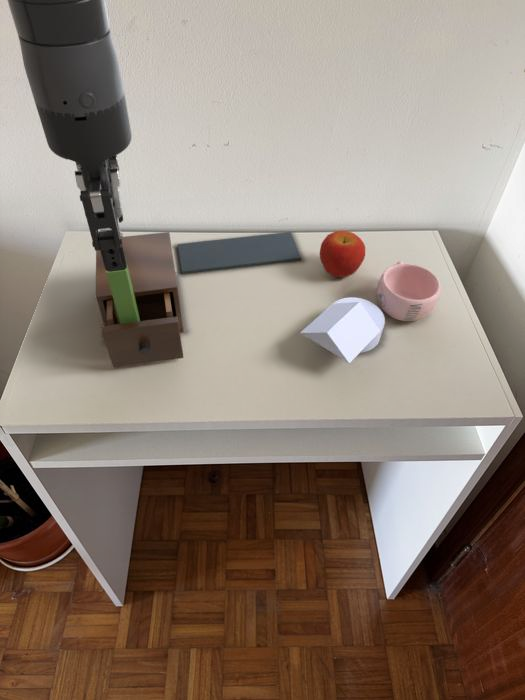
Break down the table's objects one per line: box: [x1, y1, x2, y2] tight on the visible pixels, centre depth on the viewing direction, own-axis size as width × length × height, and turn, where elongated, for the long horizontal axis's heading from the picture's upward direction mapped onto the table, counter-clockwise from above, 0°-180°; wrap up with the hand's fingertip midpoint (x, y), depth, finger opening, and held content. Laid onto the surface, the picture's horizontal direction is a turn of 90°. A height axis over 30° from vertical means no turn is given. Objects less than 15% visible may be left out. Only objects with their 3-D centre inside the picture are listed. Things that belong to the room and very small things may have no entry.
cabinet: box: [95, 231, 184, 333], centre depth 79 cm, size 14×12×10 cm
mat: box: [177, 231, 302, 275], centre depth 93 cm, size 22×8×1 cm, turn 102°
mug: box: [376, 260, 442, 322], centre depth 83 cm, size 12×10×6 cm
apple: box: [319, 230, 366, 278], centre depth 87 cm, size 8×8×8 cm
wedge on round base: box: [300, 296, 386, 364], centre depth 77 cm, size 9×7×13 cm
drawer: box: [101, 292, 184, 369], centre depth 75 cm, size 14×10×8 cm
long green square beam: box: [106, 257, 140, 324], centre depth 70 cm, size 2×3×15 cm
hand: (115, 244), depth 55 cm, fingers open, 8 cm apart
